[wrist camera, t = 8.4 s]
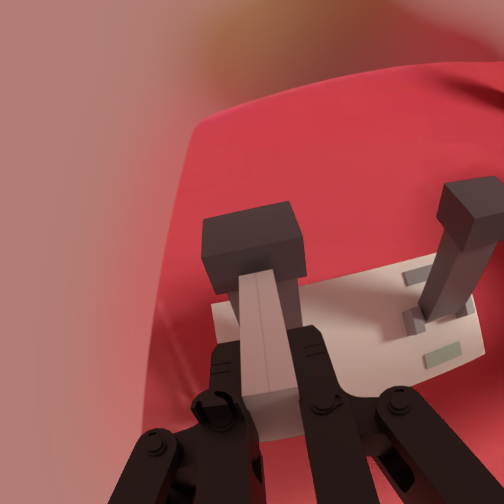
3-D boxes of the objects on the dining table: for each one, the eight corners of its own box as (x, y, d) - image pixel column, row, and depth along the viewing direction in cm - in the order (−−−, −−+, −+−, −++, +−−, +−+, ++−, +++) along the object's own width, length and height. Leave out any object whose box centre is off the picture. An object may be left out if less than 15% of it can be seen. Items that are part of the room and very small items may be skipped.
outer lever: (313, 360, 20) (302, 236, 13) (249, 373, 20) (201, 258, 13) (304, 326, 22) (289, 200, 15) (245, 338, 22) (203, 219, 15)
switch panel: (454, 356, 25) (497, 352, 18) (244, 414, 26) (228, 434, 19) (431, 266, 29) (467, 238, 21) (225, 314, 30) (204, 299, 22)
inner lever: (469, 313, 19) (524, 206, 12) (424, 330, 19) (474, 218, 12) (453, 285, 21) (494, 175, 14) (410, 299, 22) (443, 183, 14)
